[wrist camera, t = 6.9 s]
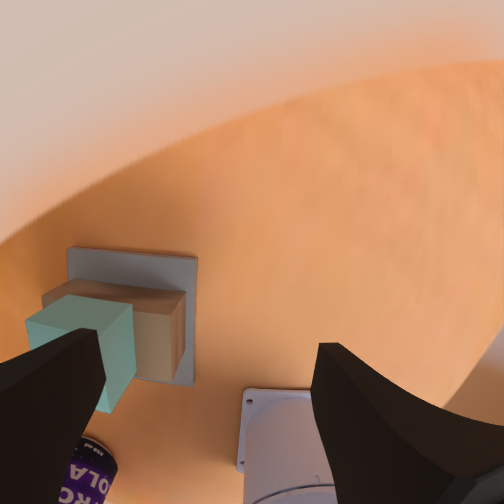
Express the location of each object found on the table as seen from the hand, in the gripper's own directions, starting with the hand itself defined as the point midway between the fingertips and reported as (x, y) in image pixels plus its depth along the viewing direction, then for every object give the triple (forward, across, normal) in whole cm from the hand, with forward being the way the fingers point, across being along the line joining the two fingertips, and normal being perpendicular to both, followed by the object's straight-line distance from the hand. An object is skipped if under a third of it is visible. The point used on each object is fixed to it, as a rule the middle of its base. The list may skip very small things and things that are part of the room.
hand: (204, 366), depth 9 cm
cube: (+6, +6, +3) cm, 9 cm away
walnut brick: (+10, +6, +3) cm, 12 cm away
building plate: (+10, +6, +4) cm, 13 cm away
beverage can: (+10, +12, +19) cm, 25 cm away
